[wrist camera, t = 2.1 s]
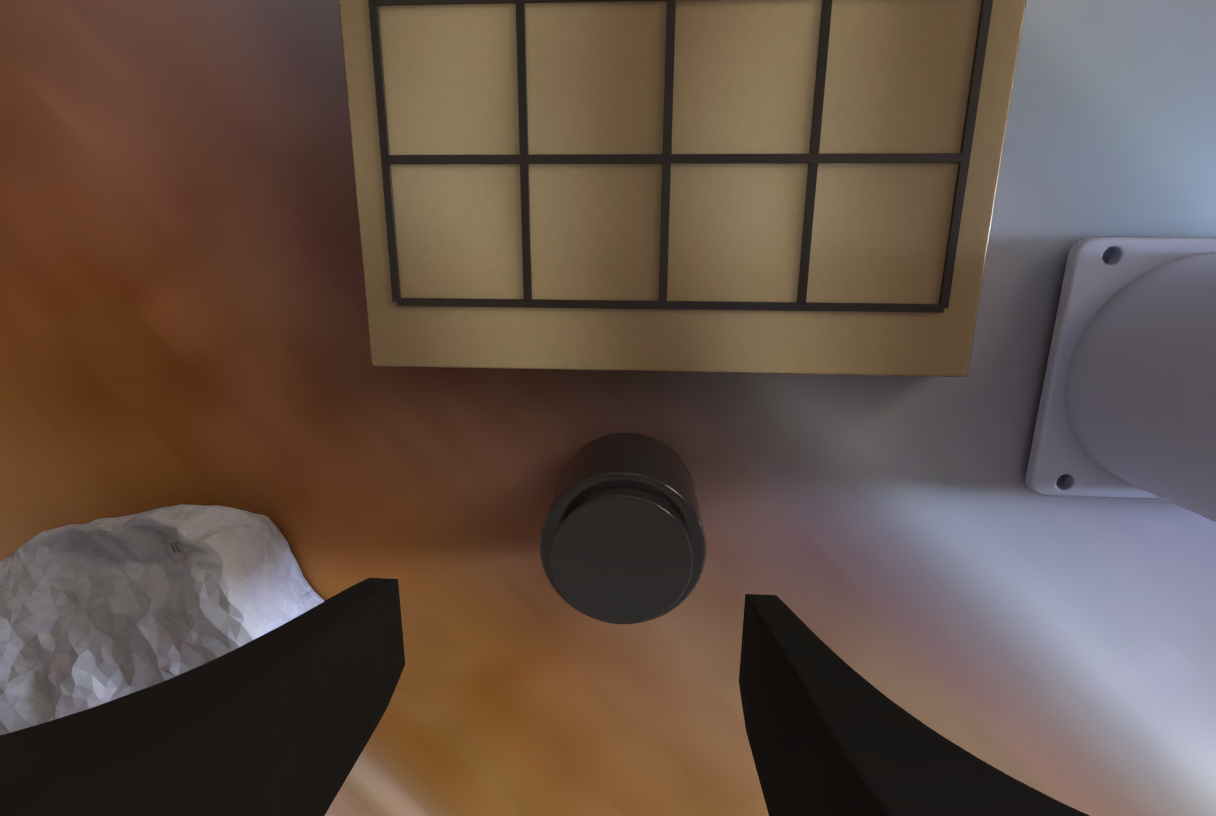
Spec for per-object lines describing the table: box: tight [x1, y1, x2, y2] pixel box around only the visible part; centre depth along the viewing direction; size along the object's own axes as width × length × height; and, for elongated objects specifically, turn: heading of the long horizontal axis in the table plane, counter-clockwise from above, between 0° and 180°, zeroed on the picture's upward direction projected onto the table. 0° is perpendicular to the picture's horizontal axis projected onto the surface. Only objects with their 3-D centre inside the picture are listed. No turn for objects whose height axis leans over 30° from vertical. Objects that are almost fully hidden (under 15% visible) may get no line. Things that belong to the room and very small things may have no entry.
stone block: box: [0, 504, 324, 735], centre depth 21 cm, size 12×5×10 cm
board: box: [339, 0, 1026, 377], centre depth 16 cm, size 18×20×2 cm
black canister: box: [540, 433, 706, 624], centre depth 18 cm, size 5×5×5 cm
